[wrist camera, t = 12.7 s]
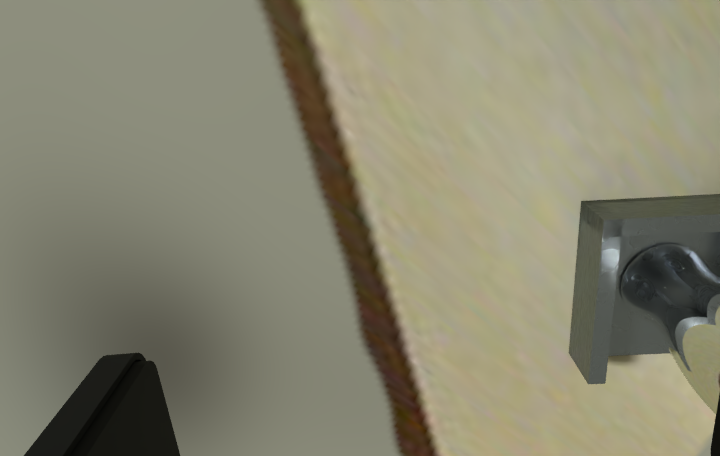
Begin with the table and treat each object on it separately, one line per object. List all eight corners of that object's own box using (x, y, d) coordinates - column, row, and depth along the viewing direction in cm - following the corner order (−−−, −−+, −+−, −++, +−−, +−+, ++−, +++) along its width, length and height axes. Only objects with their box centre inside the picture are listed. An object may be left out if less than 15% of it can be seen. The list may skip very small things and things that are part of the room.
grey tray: (581, 201, 39) (604, 219, 35) (760, 192, 39) (803, 209, 35) (568, 353, 43) (588, 384, 40) (730, 346, 43) (765, 376, 39)
